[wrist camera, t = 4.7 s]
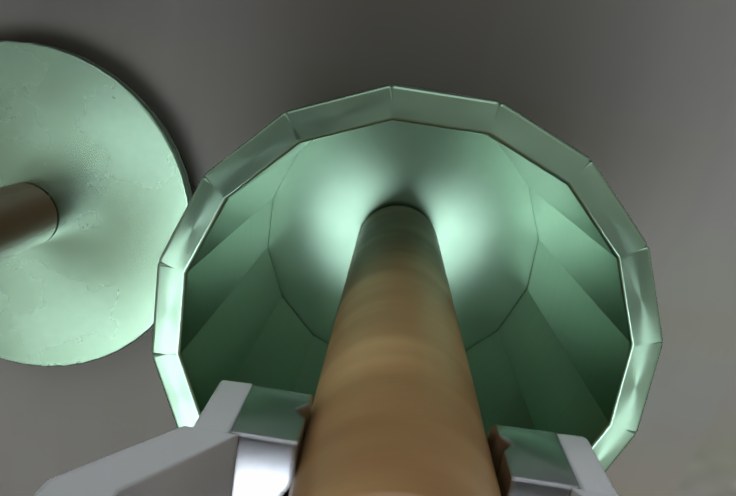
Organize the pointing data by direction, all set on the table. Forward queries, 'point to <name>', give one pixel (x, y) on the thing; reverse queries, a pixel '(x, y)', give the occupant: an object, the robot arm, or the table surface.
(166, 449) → the robot arm
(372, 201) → the tin
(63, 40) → the table surface
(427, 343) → the stick
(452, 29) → the table surface
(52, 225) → the tin lid
